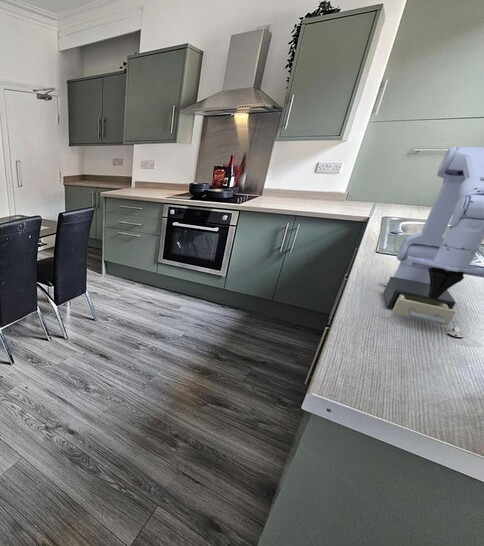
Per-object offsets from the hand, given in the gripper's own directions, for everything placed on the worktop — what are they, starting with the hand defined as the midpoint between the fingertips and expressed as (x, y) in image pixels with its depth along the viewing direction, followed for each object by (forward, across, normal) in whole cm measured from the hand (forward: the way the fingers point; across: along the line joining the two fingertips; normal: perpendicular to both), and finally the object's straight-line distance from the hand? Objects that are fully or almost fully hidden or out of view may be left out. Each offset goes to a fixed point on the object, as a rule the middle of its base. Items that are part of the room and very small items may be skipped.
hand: (432, 297), depth 79 cm
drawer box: (+8, 0, +13) cm, 15 cm away
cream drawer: (+7, 0, +5) cm, 9 cm away
